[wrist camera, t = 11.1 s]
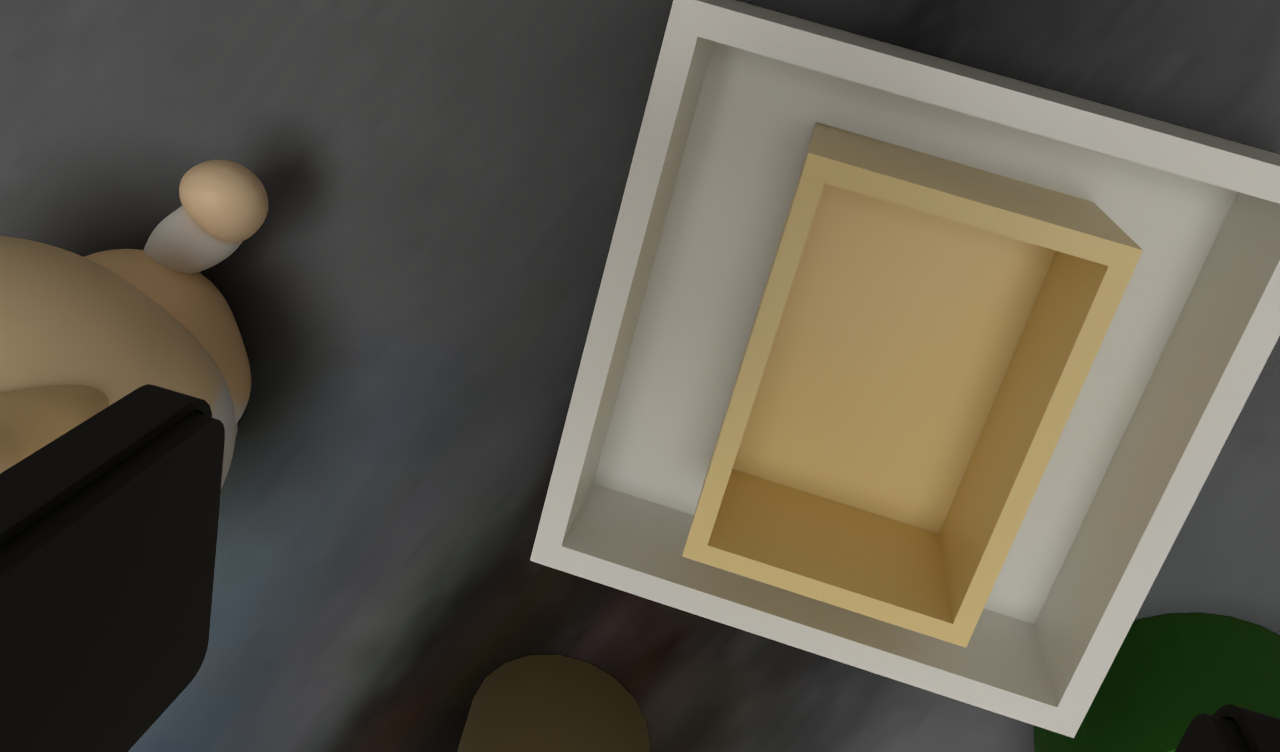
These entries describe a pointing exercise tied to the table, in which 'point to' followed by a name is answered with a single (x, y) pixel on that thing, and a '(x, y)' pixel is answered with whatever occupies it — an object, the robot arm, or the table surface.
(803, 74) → the large crate
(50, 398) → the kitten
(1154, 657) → the candle
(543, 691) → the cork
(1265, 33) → the table surface
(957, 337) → the small crate
